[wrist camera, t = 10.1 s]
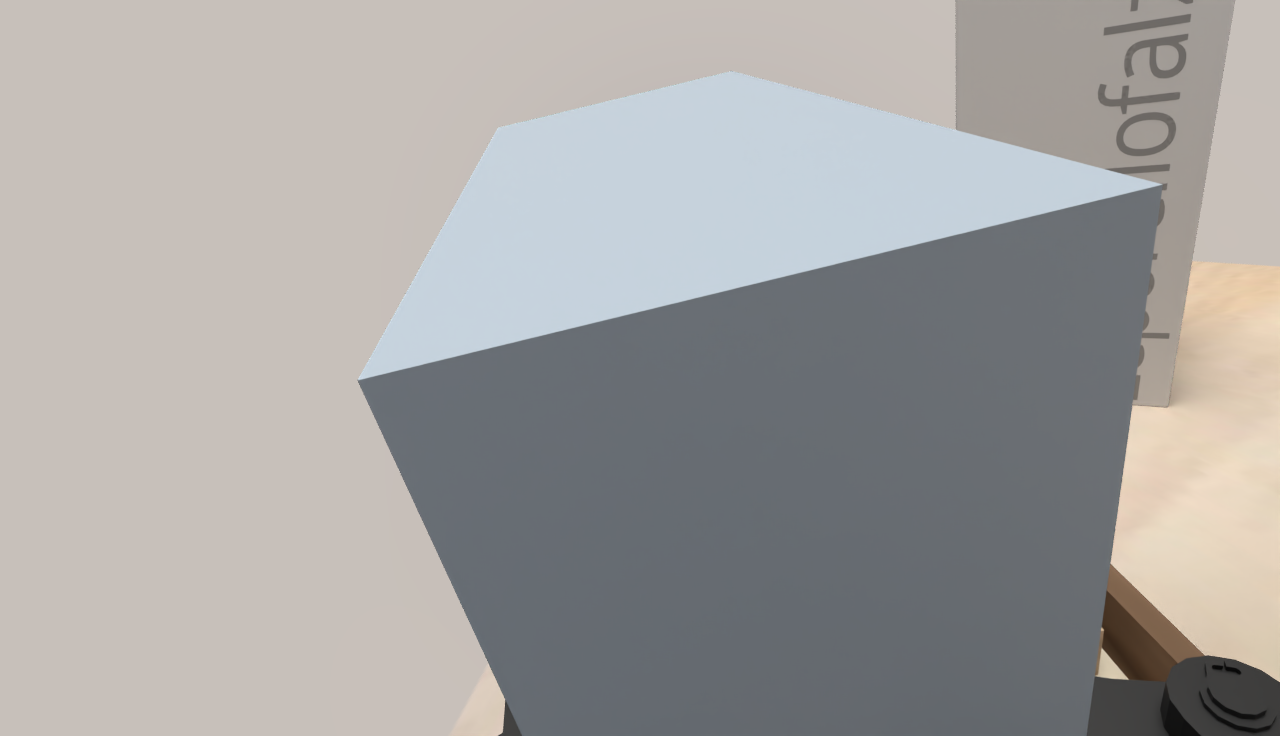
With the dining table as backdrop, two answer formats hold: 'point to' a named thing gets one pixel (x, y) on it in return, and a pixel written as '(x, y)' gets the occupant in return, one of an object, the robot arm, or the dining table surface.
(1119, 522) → the dining table surface
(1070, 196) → the grey rectangular block
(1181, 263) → the brochure
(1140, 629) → the tray
